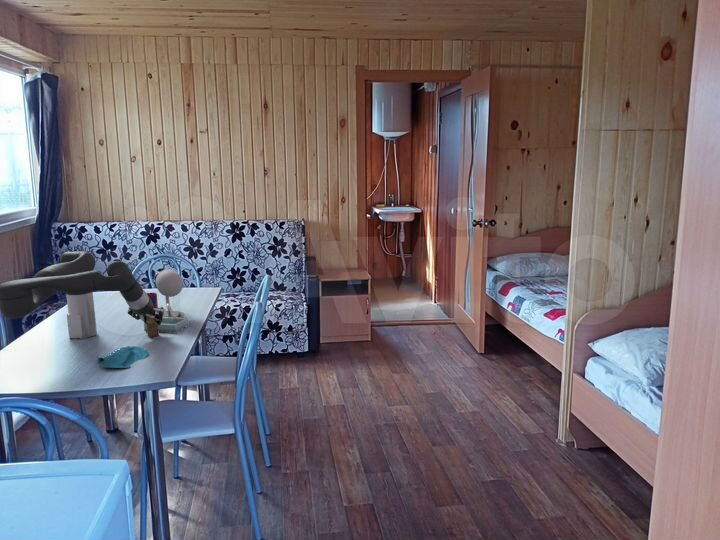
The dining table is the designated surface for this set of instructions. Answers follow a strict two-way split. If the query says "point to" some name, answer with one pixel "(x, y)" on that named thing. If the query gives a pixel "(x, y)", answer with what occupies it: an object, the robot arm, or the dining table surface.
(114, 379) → the dining table surface
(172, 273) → the light fixture
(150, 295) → the mug
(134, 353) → the mineral
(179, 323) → the bin
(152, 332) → the dowel
